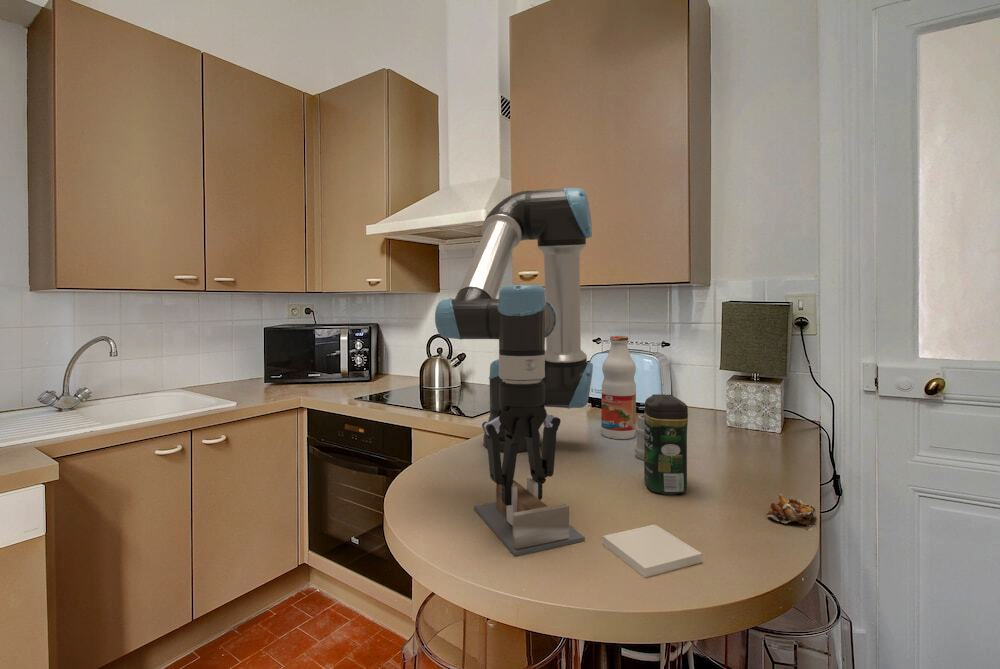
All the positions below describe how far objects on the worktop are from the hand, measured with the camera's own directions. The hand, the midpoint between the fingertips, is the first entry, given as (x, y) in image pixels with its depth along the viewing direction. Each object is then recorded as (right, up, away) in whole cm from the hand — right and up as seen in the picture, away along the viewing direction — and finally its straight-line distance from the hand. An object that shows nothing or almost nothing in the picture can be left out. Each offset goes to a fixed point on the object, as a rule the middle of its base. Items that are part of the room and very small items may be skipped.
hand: (522, 520), depth 81 cm
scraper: (0, 0, +1) cm, 1 cm away
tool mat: (+1, -1, +2) cm, 2 cm away
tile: (+17, -1, -4) cm, 17 cm away
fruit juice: (+30, +2, +57) cm, 64 cm away
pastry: (+48, -1, +5) cm, 48 cm away
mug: (+32, +1, +35) cm, 48 cm away
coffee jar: (+30, 0, +18) cm, 35 cm away
